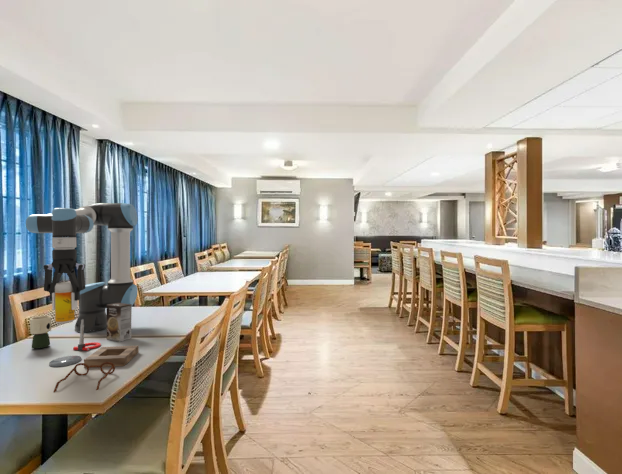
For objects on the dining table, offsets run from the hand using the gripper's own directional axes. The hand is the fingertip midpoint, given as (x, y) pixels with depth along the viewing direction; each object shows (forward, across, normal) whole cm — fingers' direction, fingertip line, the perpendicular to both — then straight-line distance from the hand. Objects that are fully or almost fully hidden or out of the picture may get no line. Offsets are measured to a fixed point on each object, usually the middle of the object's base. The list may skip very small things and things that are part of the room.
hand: (65, 309), depth 131 cm
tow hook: (+21, 0, +17) cm, 27 cm away
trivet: (+20, 0, 0) cm, 20 cm away
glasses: (+21, +17, -20) cm, 34 cm away
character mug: (+20, -20, +19) cm, 34 cm away
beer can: (+5, 0, 0) cm, 5 cm away
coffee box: (+20, +8, +28) cm, 36 cm away
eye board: (+20, +17, 0) cm, 26 cm away
